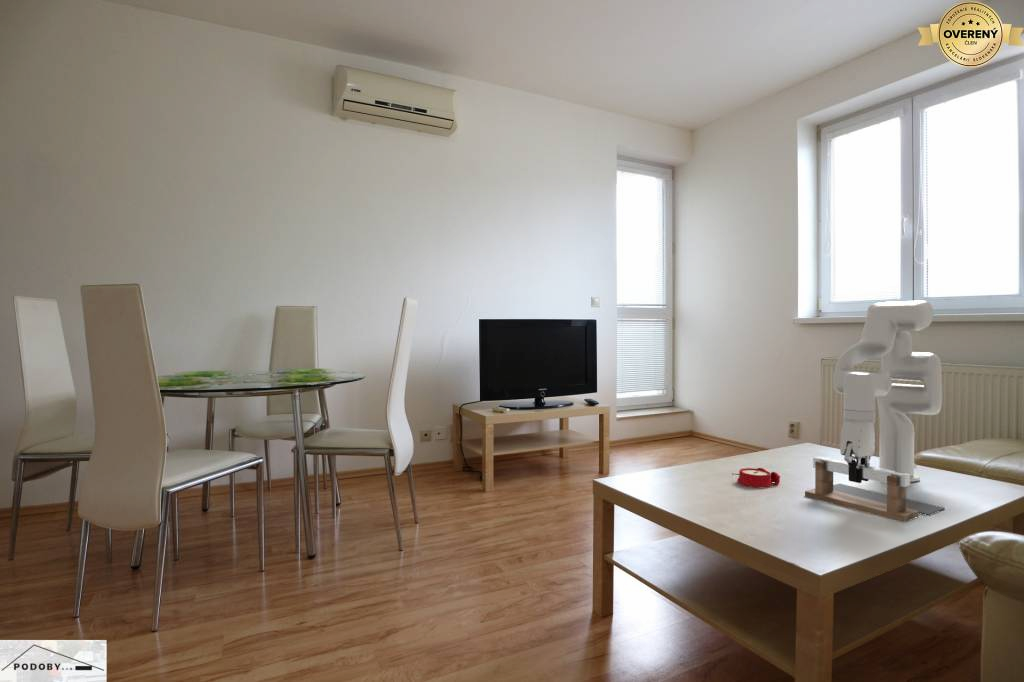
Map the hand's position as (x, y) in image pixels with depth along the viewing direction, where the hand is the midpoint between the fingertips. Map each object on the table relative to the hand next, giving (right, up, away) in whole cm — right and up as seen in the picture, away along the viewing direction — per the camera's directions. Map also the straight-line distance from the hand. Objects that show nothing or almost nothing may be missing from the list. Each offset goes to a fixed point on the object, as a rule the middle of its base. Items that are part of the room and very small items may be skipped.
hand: (858, 480), depth 151 cm
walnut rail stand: (0, -7, 0) cm, 7 cm away
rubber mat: (+10, -7, +6) cm, 14 cm away
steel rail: (0, +1, 0) cm, 1 cm away
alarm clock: (-17, -7, +23) cm, 30 cm away
